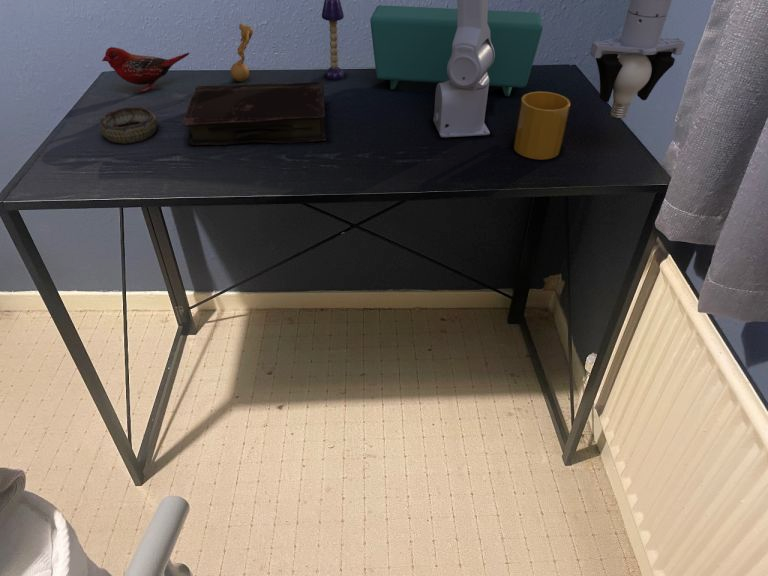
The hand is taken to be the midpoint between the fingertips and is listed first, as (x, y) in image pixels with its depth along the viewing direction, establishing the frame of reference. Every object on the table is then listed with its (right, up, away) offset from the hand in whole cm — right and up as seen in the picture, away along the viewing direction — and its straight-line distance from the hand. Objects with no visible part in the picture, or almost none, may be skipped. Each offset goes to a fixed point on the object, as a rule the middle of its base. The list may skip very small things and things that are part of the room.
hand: (622, 98), depth 96 cm
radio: (-25, +12, +30) cm, 41 cm away
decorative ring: (-88, -3, +12) cm, 88 cm away
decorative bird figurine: (-89, +11, +28) cm, 94 cm away
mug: (-13, -6, +9) cm, 17 cm away
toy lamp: (-51, +16, +34) cm, 63 cm away
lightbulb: (0, -3, +2) cm, 4 cm away
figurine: (-71, +14, +32) cm, 79 cm away
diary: (-64, 0, +15) cm, 66 cm away
